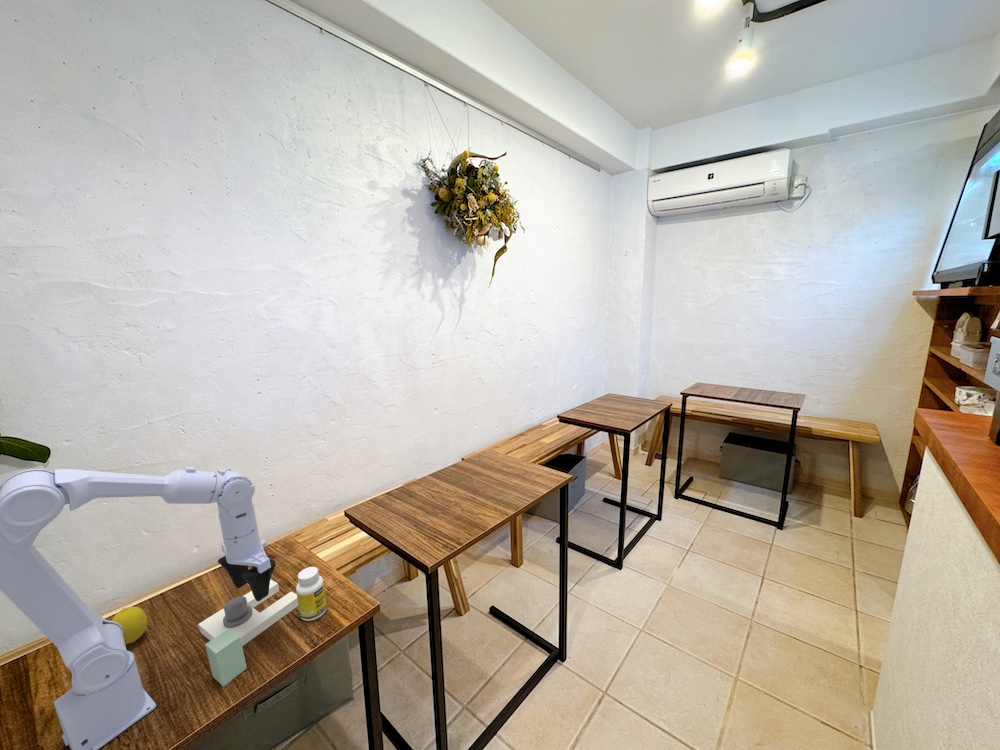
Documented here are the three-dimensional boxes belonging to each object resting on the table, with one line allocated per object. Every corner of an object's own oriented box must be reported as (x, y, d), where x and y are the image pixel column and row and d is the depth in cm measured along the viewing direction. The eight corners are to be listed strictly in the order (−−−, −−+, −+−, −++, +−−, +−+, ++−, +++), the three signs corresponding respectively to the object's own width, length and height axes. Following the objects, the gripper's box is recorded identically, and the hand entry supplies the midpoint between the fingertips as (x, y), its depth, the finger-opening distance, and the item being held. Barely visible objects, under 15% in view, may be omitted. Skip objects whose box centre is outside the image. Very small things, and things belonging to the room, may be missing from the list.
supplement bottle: (320, 621, 83) (313, 581, 81) (295, 622, 83) (288, 582, 81) (331, 602, 88) (325, 563, 86) (308, 603, 88) (301, 564, 87)
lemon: (146, 626, 84) (138, 594, 83) (154, 638, 81) (145, 605, 80) (111, 645, 80) (101, 612, 78) (118, 658, 77) (108, 624, 75)
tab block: (223, 686, 70) (215, 653, 68) (212, 676, 72) (205, 644, 71) (246, 668, 73) (240, 636, 72) (236, 659, 75) (229, 628, 74)
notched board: (228, 656, 76) (222, 632, 75) (200, 632, 82) (194, 609, 81) (300, 603, 88) (297, 582, 87) (271, 586, 95) (267, 566, 93)
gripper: (281, 529, 77) (291, 590, 79) (242, 512, 84) (253, 568, 87) (243, 549, 71) (255, 614, 73) (205, 529, 78) (217, 589, 81)
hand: (252, 591), depth 79 cm, fingers open, 7 cm apart
